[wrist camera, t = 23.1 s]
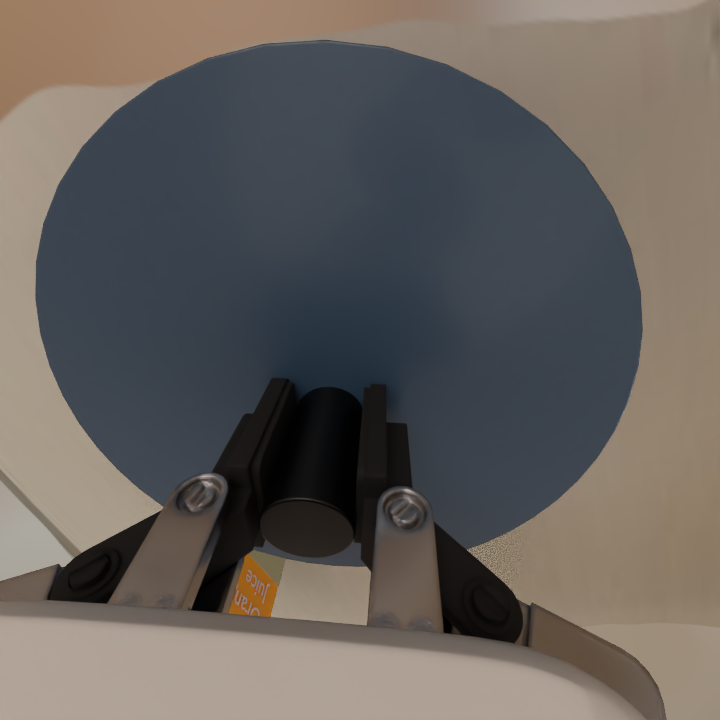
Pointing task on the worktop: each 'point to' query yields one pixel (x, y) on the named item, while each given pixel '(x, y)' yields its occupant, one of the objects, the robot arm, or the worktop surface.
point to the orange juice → (257, 584)
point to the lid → (340, 287)
